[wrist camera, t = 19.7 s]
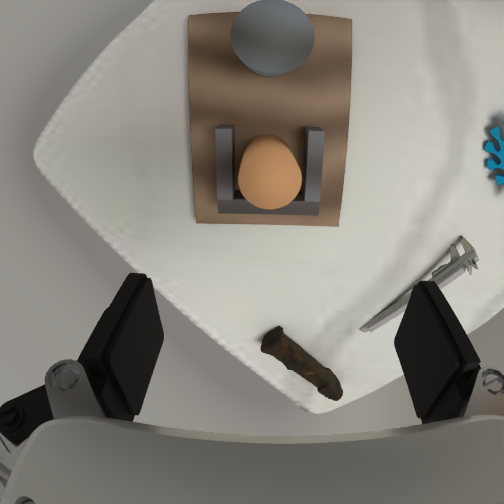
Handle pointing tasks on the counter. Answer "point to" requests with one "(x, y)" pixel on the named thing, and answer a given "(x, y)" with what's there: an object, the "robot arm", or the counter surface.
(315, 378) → the hand tool
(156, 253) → the counter surface
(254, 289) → the counter surface
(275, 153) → the tan oval solid
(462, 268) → the caliper
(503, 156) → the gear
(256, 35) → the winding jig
